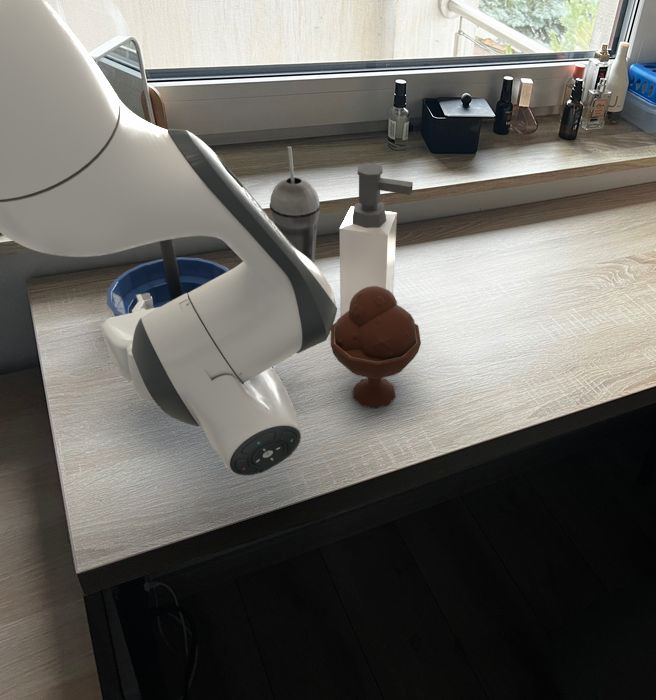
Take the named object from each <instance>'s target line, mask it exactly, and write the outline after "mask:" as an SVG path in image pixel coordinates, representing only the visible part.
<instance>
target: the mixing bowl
mask: <svg viewBox="0 0 656 700" xmlns="http://www.w3.org/2000/svg"><path fill="white" fill-rule="evenodd" d="M176 259H177V265H178V271H179V277H180V282H181V288H182V294H185V293H189V292H190V291H192V290H194V289H196V288H198V287H200V286H202V285H204V284H205V283H207V282H209V281H211V280H213V279H215V278H217V277H219V276H220V275H222V274H224V273H226V272H228V271H230V270H231V269H229V268H228V267H225V266H223V265H221V264H219V263H217V262H215V261H212V260H208V259H205V258H198V257H183V256H179V257H178V256H176ZM144 293H150V296H151V297H152V300H153V306H154V308H157V307H161V306H163V305H165V304H166V303H168V302H170V301H171V299H170V294H169V289H168V283H167V278H166V273H165V268H164V262H163V258H159V259H156V260H151V261H147V262H144V263H140V264H138V265H136V266H134V267H132V268H130V269H127V270H126V271H124V272H123V273H122V274H120V275H119V276H118V277H116V279H114V280H113V281H112V283H111V285H110V286H109V288H108V289H107V291H106V304H107V309H108V313H109V316H110V317H115V316H120V315H125V314H129V313H132V310H133V308H134V307H135V305H136V304H137V303H138V302H137V297H136V295H138V294H144ZM110 317H109V318H110Z"/></svg>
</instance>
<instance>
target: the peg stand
mask: <svg viewBox="0 0 656 700" xmlns="http://www.w3.org/2000/svg"><path fill="white" fill-rule="evenodd" d="M159 246H160V251H161V256H162V259H163V262H164V268H165V273H166V278H167V283H168V289H169V294H170V299H171V301H172V300H174V299H176V298H178V297H180V296H181V295H183V294H182V288H181V282H180V277H179V271H178V265H177V259H176V257H177V254H176V249H175V243H174V239H169V240H164V241H159Z"/></svg>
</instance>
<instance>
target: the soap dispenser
mask: <svg viewBox="0 0 656 700" xmlns="http://www.w3.org/2000/svg"><path fill="white" fill-rule="evenodd" d="M382 174H383V165H380V164H377V163H373V162H371V163H370V162H363V163H362V164H360V165H358V166H357V176H358V201H357V202H356V203H354V204H353V206H352V205H351V206H350V208H349V210H348V211H347V213H346V215H345V217H344V220H343V221H342V223H341V225H340V227H339V301H340V302H339V303H340V307H339V309H340V311H339V312H340V317H341V316H343V315H344V314H345V313H346V312H348V311H349V307H350V302H351V299H352V298H353V296H354V295H355V294H356V293H357V292H359V291H360V290H362V289H363V288H366V287H370V286H379V287H382V288H384V289H386V290H389V291H390V292H391V293H392V294H393V295H394V288H395V268H396V267H395V266H396V265H395V264H396V243H397V242H396V241H397V220H398V212H395V211H394V212H393V211H388V210H387V211H386V208H385V207H386V205H385V202H382V201H381V191H382V192H388V193H395V194H401V195H407V196H408V195H409V196H411V195H412V192H413V186H414V184H413V183H414V182H413V181H408V180H400V179H391V178H384V177H381V176H382Z"/></svg>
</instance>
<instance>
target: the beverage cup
mask: <svg viewBox="0 0 656 700" xmlns="http://www.w3.org/2000/svg"><path fill="white" fill-rule="evenodd" d="M292 149H293V148H292V146H287V154H288V164H289V175H290V176H289V177H287V178H286V177H285V178H283V179H282V180H280V181H279V182H278V183H277V184H275V186H274V188H273V190H272V192H271V195H270V199H269V200H270V202H269V209H270V211H271V215H272V218H273V222H274V223H275V225H276V226H277V227H278V228H279V229H280V231H281V232H282V233H283V234H284V235H285V237H286V238H287V239H288V240H289V241H290V242H291V243H292V244H293V245H294V247H295V248H296V249H297V250H298V251H300V252H301V253H302V254H304V255H305V256H306V257H307V258H309V259H310V260H311V261H312V262H313V263H314V264H315V263H316V249H317V232H318V220H319V215H320V210H321V207H322V206H321V203H320V198H319V195H318V192H317V190H316V189H315V188H314V186H313V185H312V183H310V182H308V180H306V179H303V178H301V177H295V171H294V161H293V150H292ZM315 265H316V264H315Z"/></svg>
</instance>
